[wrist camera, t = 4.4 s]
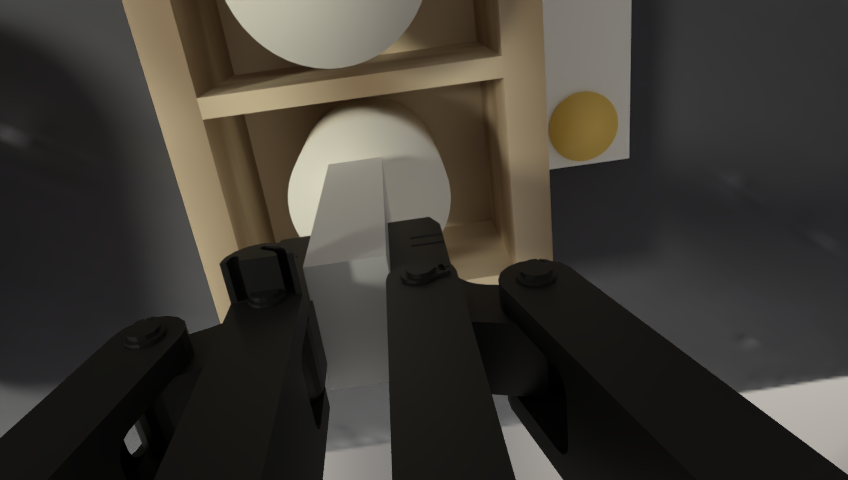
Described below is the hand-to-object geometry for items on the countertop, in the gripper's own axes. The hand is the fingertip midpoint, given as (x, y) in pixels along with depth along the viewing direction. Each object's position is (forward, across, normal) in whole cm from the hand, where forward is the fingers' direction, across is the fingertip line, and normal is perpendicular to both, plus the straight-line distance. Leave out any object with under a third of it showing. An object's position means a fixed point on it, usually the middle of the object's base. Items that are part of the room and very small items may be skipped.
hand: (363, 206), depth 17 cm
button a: (+4, 0, 0) cm, 4 cm away
